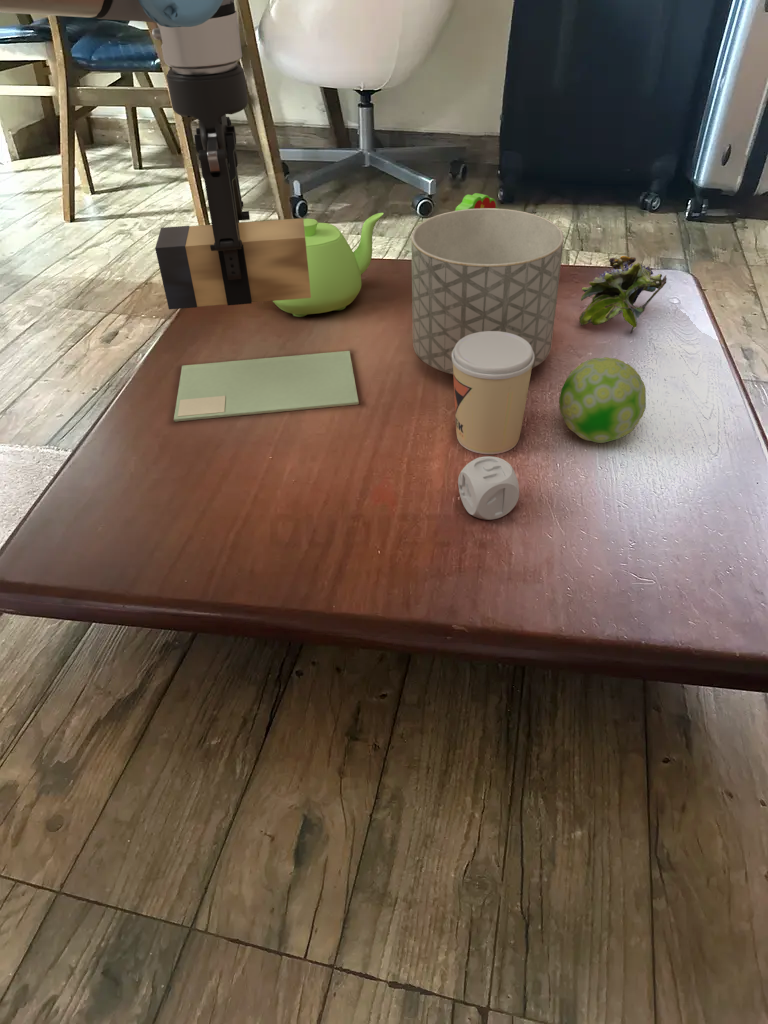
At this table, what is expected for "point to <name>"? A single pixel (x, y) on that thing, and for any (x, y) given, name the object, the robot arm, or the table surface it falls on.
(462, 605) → the table surface
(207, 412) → the envelope
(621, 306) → the passion flower
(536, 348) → the planter
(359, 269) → the teapot
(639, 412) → the decorative ball
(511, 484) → the die
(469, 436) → the coffee cup
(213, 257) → the beech block
